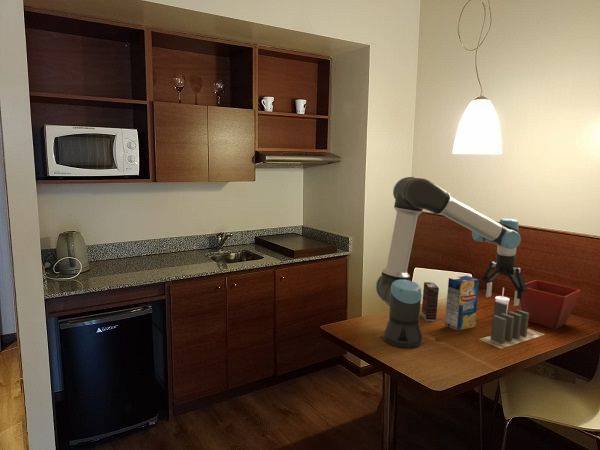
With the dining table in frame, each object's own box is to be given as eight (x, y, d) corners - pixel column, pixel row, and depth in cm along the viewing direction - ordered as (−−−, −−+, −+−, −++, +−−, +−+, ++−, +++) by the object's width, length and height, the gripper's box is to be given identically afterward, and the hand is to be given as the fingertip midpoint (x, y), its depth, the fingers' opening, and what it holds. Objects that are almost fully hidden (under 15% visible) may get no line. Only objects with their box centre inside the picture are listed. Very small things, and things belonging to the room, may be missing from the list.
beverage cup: (491, 316, 207) (494, 287, 205) (496, 313, 211) (499, 285, 209) (504, 319, 203) (507, 290, 200) (509, 316, 207) (512, 288, 205)
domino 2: (501, 344, 173) (504, 319, 171) (490, 339, 177) (492, 315, 175) (504, 343, 173) (506, 319, 172) (493, 338, 178) (495, 315, 176)
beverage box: (444, 327, 191) (448, 278, 188) (462, 323, 196) (466, 275, 193) (456, 332, 185) (461, 282, 182) (475, 328, 190) (479, 279, 187)
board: (500, 351, 169) (500, 348, 168) (478, 341, 177) (478, 338, 177) (544, 336, 184) (545, 334, 184) (522, 328, 192) (522, 326, 192)
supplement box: (436, 321, 197) (439, 287, 195) (425, 321, 197) (428, 287, 195) (431, 315, 206) (433, 282, 203) (420, 314, 206) (423, 281, 203)
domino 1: (502, 326, 194) (505, 304, 193) (492, 322, 198) (494, 301, 197) (505, 325, 195) (507, 304, 193) (495, 322, 199) (497, 301, 198)
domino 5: (524, 337, 180) (526, 313, 179) (513, 332, 185) (515, 309, 183) (526, 336, 181) (529, 313, 180) (515, 332, 185) (517, 309, 184)
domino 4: (517, 339, 178) (519, 315, 176) (505, 334, 182) (508, 311, 180) (519, 338, 179) (522, 315, 177) (508, 334, 183) (510, 311, 181)
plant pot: (576, 325, 199) (581, 289, 196) (559, 335, 187) (564, 296, 184) (532, 313, 213) (536, 279, 211) (514, 321, 201) (518, 285, 198)
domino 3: (509, 341, 175) (512, 317, 174) (498, 337, 179) (500, 313, 178) (511, 340, 176) (514, 317, 175) (500, 336, 180) (503, 313, 179)
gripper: (539, 259, 183) (534, 307, 186) (486, 248, 204) (483, 292, 207) (528, 261, 179) (523, 310, 183) (476, 249, 200) (472, 294, 204)
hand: (502, 300), depth 195 cm, fingers open, 13 cm apart
